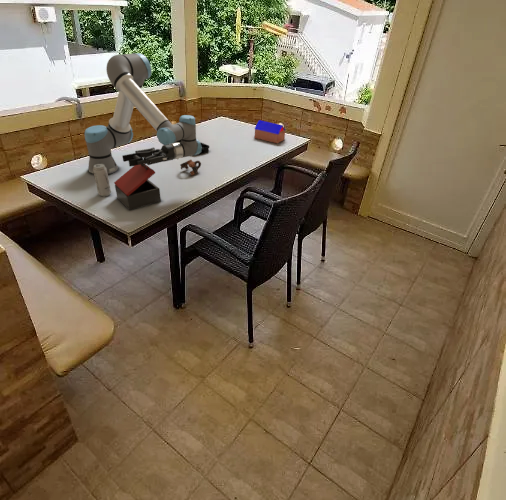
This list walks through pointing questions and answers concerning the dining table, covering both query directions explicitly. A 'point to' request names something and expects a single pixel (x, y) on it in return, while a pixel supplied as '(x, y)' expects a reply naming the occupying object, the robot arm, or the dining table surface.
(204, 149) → the egg carton
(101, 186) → the energy drink can
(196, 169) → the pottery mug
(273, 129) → the house
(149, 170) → the lid
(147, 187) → the dark gray box
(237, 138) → the dining table surface
